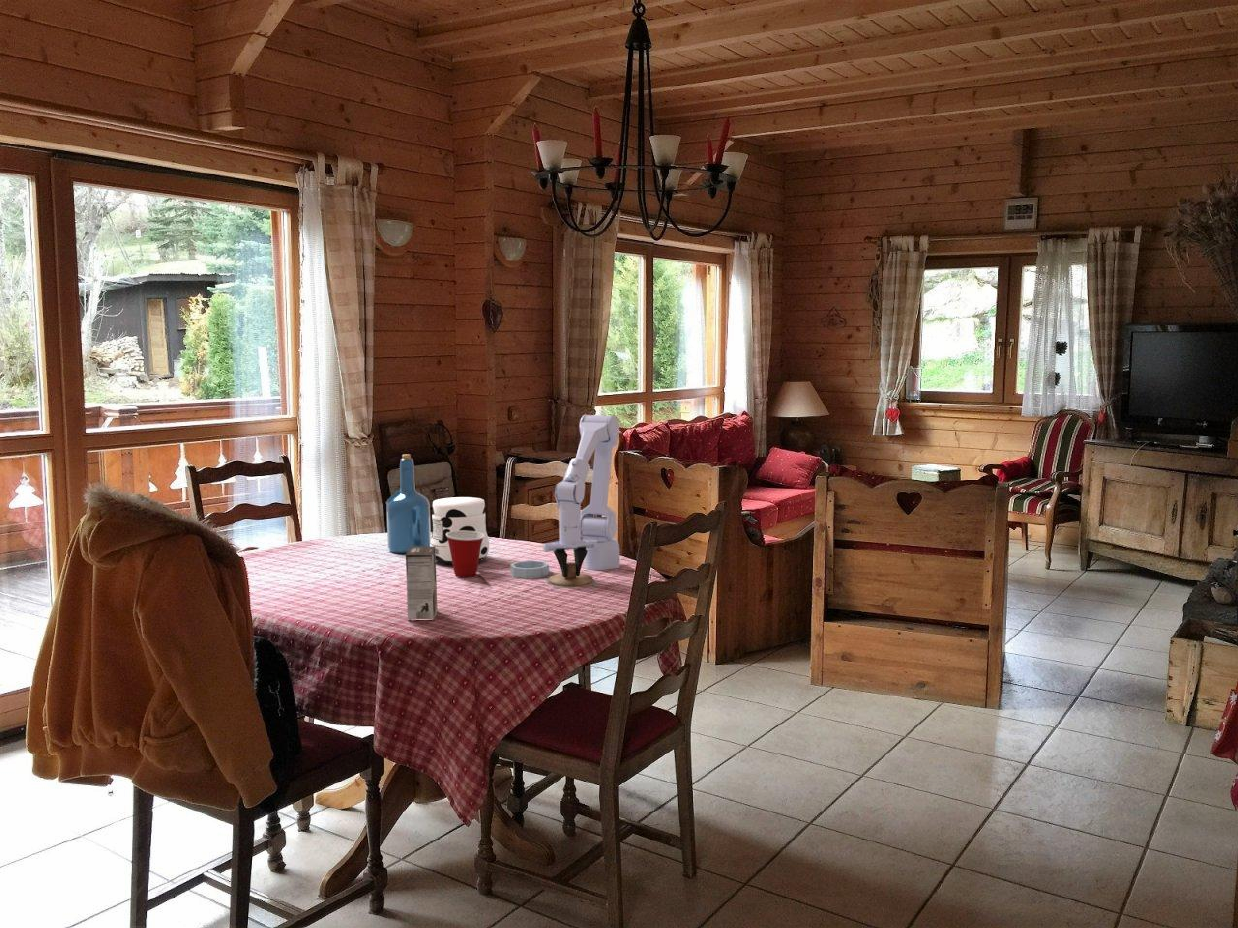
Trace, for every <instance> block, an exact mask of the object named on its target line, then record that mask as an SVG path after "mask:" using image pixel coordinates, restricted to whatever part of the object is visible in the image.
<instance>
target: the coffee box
mask: <svg viewBox="0 0 1238 928" xmlns="http://www.w3.org/2000/svg"><path fill="white" fill-rule="evenodd" d="M405 565H406V568H405V569H406V570H405V571H406V595H407V596H406V598H407V599H406V600H407V620H408V619H409V620H410V619H434V620H435V619H436V616H437V613H438V611H439V610H438V587H437V560H436V553H435V547H425V546H415V547H409V549H408V552H407V554H405Z"/></svg>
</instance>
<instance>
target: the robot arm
mask: <svg viewBox="0 0 1238 928" xmlns="http://www.w3.org/2000/svg"><path fill="white" fill-rule="evenodd" d="M579 433H580V441H579V444H578V449H577V451H576V452H577V453H576V456H575V458H571V460H570V461H569V463H568V466H567V469H566V471H565V473H564V475H563V479H562V480H561V481H560V482H558V483H556V486H555V491H554V498H555V501H556V507H557V510H558V515H559V516H558V519H559V520H558V522H559V523H558V524H559V532H558V533H559V540H557V541H553V542H548V543H547V542H546V543H543V544H542V546H543V548H542V550H543V552H544V553H549V552H553V553H554V555H555V559H556V560H557V562H558V564H559V568H560V572H561V574H562V576H563V577H567V567H566V564H567V563H568V560H567V559H568V553H566V552H567V550H568V551H569V550H573V557H574V563H576V576H580V574H581V569H582V567H583V564H584V568H585V569H586V570H590V571H605V570H611V569H620V544H619V541H618V539H617V538H614V537H615V536H616V534H617V529H618V528H617V527H618V526H617V525H618V524H617V513H616V512H615V511H614V510H613V509H612V508H610V506H609V505H608V501H609V490H610V481H611V479H610V478H611V469H612V459H613V449H614V447H616V446H618V442H619V435H620V423H619V420H618V418H617V416H616V415H615V414H614V415H601V414H599V415H598V414H597V415H592V414H584V415H582V417H581V418H580V421H579ZM593 454H594V459H593V467H592V476H591V477H592V479H591V488H590V501H589V504H588V505H587V506H586V507H585V508H583V509H582V508H581V507H582V505H581V504H582V502H583V501H584V498H585V493H586V492H585V490H586V484H585V483H586V480H587V478H588V475H589V472H590V469H591V466H590V464H589V461H590V460H591V457H592V455H593Z"/></svg>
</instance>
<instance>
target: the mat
mask: <svg viewBox="0 0 1238 928" xmlns="http://www.w3.org/2000/svg"><path fill="white" fill-rule="evenodd" d="M542 578H543V580H544V581H546V582H547V583H548V584H549V585H551V586H552V587H553V588H554V589H565V588H566V589H568V588H569V587H568V586H557V585H553V584H551V583H549V578H550V577H542ZM592 580H593V581H592V582H591V583H590V584H587V585H582V586H581V587H588V586H589V587H590V586H597V585H600V584H599V582H597V581H595V580H594V579H593V578H592ZM575 587H576V588H577V587H580V586H571V587H570V588H575Z"/></svg>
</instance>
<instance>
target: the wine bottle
mask: <svg viewBox="0 0 1238 928" xmlns="http://www.w3.org/2000/svg"><path fill="white" fill-rule="evenodd" d="M401 457H402V458H400V463H399V473H400V475H399V477H400V487H399V488H400V489H399V490H397V491H396V492H394V494H393V495H391V496H389V498H387V500H386V501H385V504H386V506H385V507H386V534H387V538H386V540H387V548H388V550H389V552H392V553H394V554H395V553H396V554H401V555H402V554H405V555H406V554H407V552H408V549H409V547H415V546H425V547H430V542H431V537H432V534H431V507H430V506H431V504H430V501H429V499H428V498H427V497H426V496H425V495H423V494H421V493H419V492H417V490H416V489H415V488H416V487H415V473H414V471H415V468H414V467H415V466H414V460H413V458H412V455H411V454H409V453H408V454H407V453H406V454H402V455H401Z"/></svg>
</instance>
